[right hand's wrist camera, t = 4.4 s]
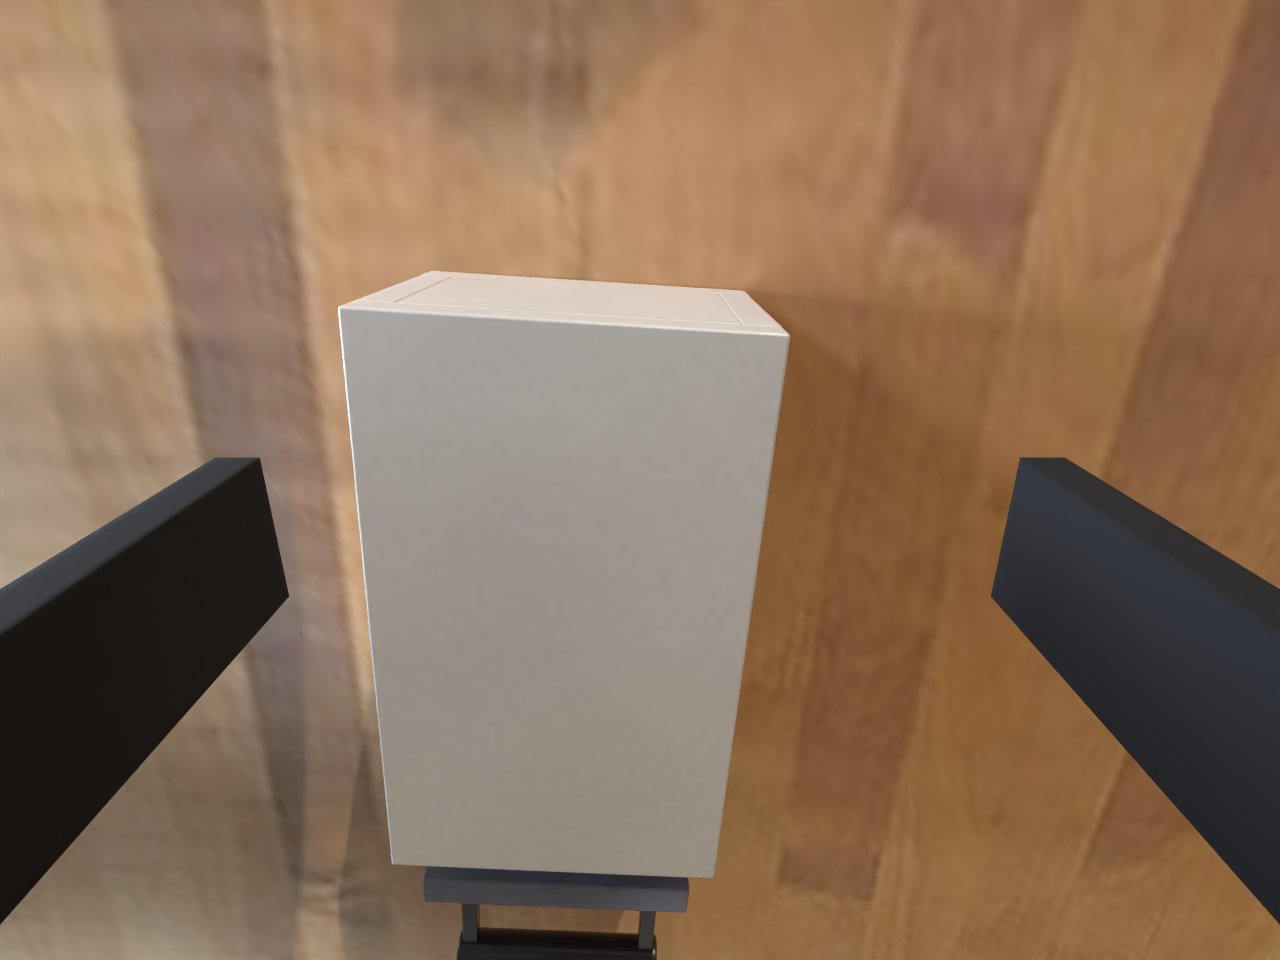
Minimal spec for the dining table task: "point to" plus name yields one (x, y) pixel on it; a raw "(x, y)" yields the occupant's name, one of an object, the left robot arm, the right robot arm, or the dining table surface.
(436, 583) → the cabinet
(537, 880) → the drawer
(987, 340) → the dining table surface
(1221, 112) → the dining table surface
